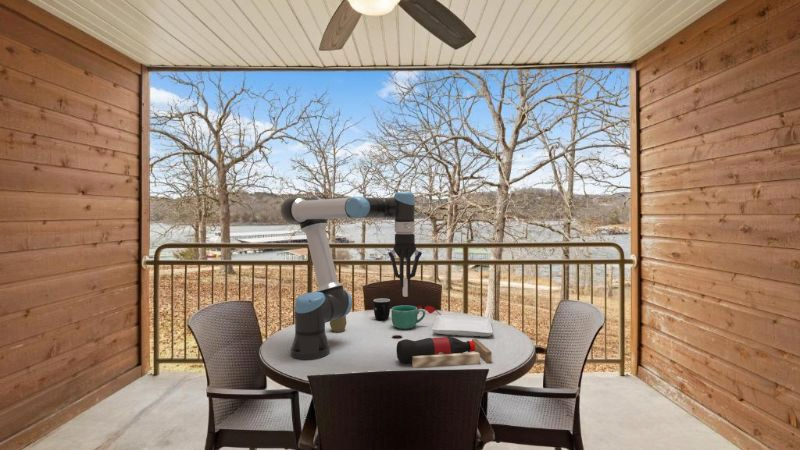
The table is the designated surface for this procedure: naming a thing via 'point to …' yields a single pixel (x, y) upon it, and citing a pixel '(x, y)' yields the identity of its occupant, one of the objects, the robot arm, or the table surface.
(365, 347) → the table surface
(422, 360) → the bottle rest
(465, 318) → the square plate
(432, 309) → the glasses
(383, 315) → the mug
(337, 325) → the squeeze bottle
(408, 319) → the mug
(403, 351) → the cola bottle
